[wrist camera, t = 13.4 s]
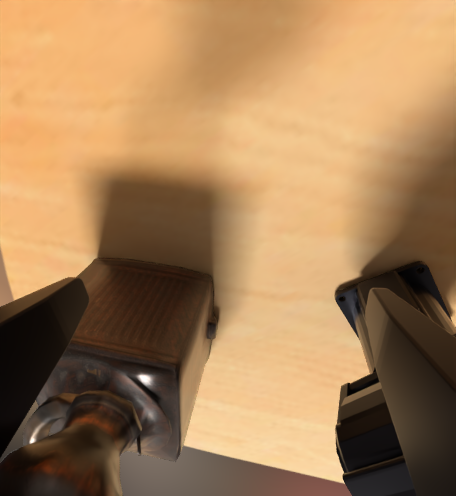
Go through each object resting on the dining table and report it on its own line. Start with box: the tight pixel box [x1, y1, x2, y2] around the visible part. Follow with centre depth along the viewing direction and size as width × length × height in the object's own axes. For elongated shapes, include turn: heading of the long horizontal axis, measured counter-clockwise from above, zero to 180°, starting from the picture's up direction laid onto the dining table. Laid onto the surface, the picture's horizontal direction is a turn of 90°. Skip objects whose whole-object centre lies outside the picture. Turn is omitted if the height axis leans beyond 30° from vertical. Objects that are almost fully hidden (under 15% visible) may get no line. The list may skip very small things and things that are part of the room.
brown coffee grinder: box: [0, 258, 217, 496], centre depth 18 cm, size 16×11×18 cm
